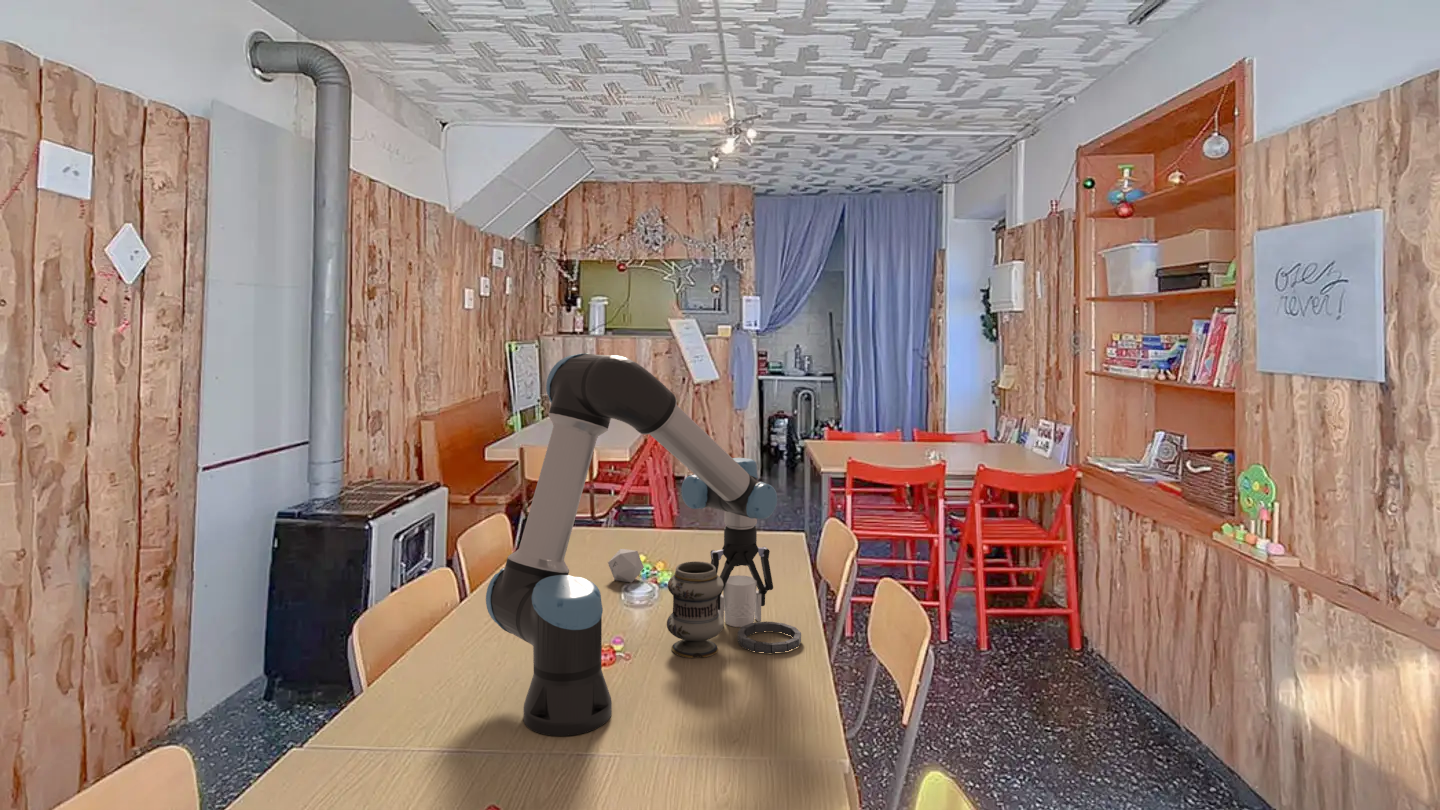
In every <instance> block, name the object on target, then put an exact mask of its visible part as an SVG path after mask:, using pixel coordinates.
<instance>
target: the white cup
mask: <svg viewBox="0 0 1440 810" xmlns="http://www.w3.org/2000/svg"><path fill="white" fill-rule="evenodd" d="M757 589H758V588H757V581H756V580H755V579H754V578H753V576H749V575H740V574H735V575H730V576H729V578H728V580H727V583H726V585H725V587H724V589H723V591H722V593H723V594H722V595H723V596H724V623H725V624H726V625H728V626H731V627H734V628H735V627H736V628H741V627H742V626H745V625H748V624H750V623H753V622H754V623H755V603H756V591H757Z"/></svg>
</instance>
